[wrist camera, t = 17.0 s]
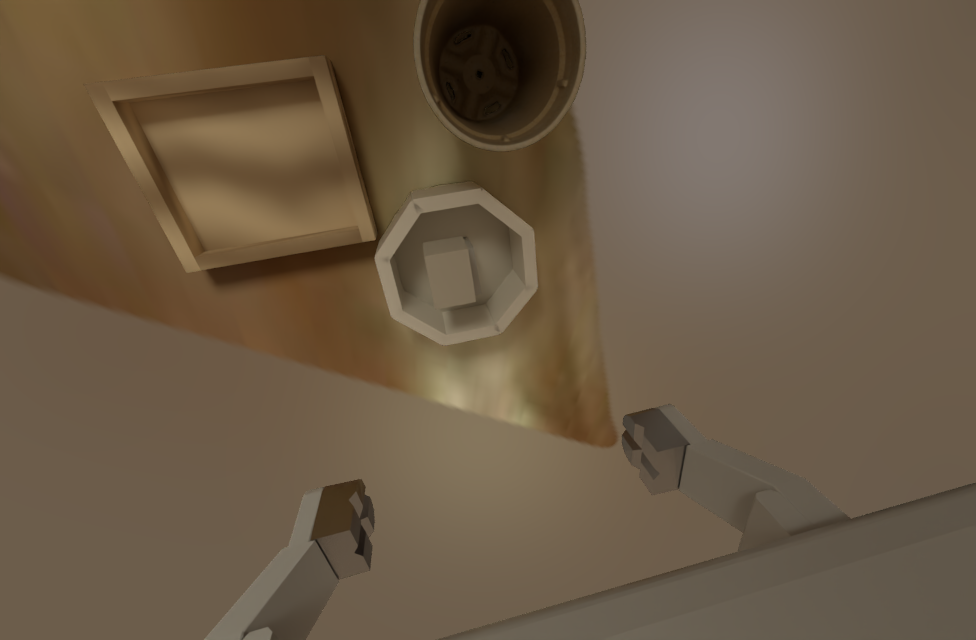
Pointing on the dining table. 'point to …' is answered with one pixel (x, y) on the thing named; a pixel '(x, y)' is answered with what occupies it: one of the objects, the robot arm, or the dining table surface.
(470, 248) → the tall grey rectangular block
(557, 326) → the dining table surface
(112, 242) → the dining table surface
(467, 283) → the block
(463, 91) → the flower pot
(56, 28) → the dining table surface
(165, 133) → the tray
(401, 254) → the bowl
